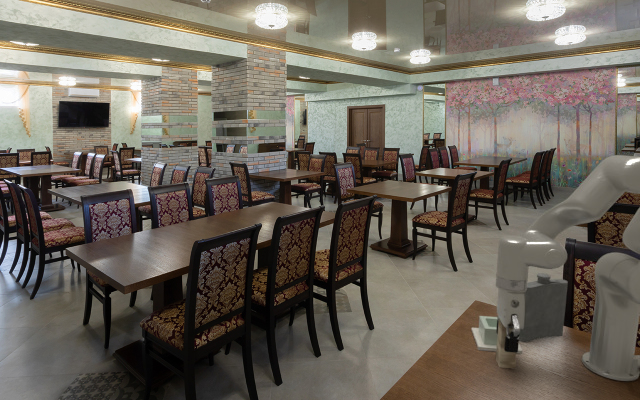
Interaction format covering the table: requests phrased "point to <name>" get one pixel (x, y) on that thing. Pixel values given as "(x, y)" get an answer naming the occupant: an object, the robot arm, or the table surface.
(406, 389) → the table surface
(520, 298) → the robot arm
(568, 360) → the table surface
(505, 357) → the beech peg
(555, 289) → the hip flask
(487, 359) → the table surface
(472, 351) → the table surface
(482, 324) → the socket holder
